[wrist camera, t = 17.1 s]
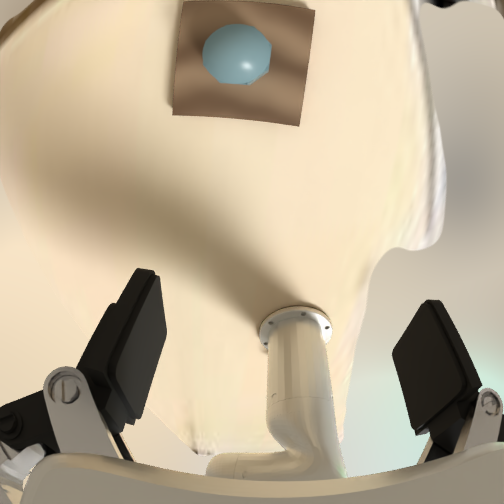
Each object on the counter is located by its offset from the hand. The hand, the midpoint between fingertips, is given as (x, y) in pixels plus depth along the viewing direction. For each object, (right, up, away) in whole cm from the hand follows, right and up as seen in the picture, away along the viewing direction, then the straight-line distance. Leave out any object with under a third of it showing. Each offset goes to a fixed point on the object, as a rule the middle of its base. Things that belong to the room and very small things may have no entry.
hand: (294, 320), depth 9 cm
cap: (-3, +22, +15) cm, 27 cm away
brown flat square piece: (-2, +23, +16) cm, 29 cm away
